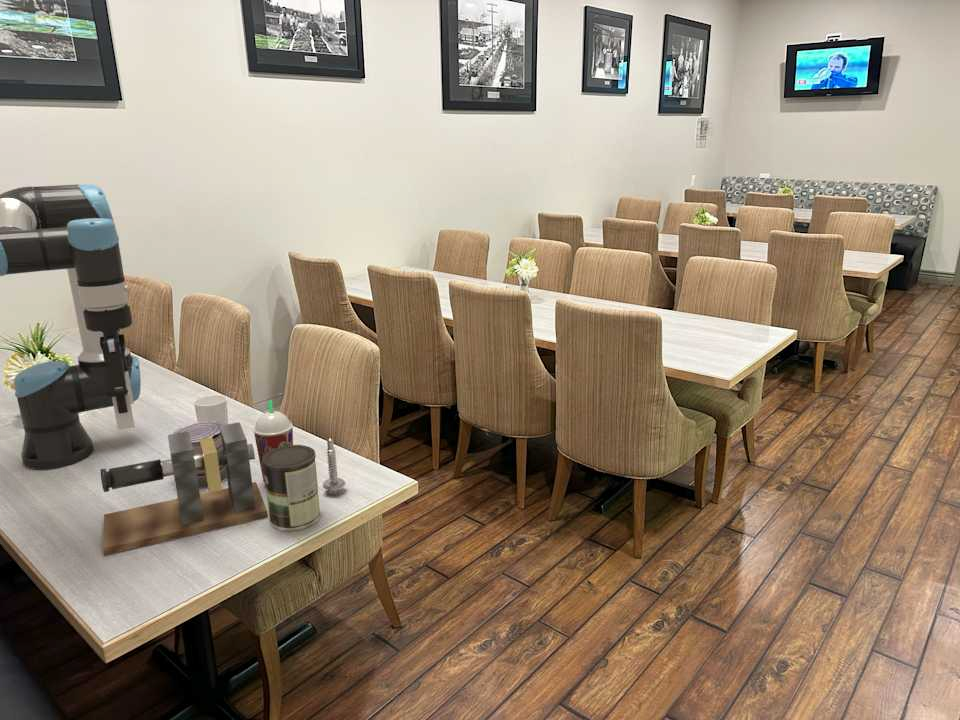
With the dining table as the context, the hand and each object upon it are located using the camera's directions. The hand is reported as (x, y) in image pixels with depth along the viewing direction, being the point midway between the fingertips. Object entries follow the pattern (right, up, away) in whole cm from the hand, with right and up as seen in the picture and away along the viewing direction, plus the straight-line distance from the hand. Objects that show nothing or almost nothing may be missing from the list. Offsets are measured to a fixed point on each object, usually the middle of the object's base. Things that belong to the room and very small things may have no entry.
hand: (126, 415), depth 130 cm
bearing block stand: (+7, -22, +11) cm, 25 cm away
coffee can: (+29, -22, +11) cm, 38 cm away
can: (+3, -17, +28) cm, 33 cm away
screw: (+35, -19, +21) cm, 45 cm away
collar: (+12, -11, +10) cm, 19 cm away
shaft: (+7, -13, +8) cm, 17 cm away
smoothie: (+22, -17, +25) cm, 37 cm away
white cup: (-3, -10, +51) cm, 52 cm away
